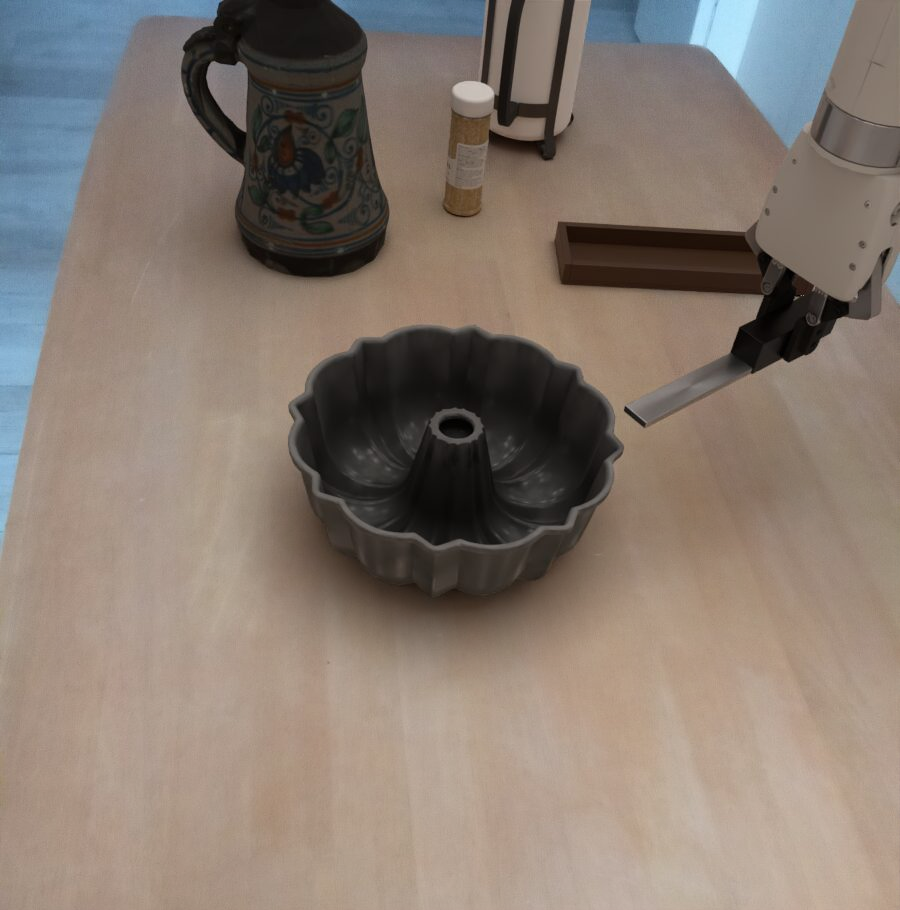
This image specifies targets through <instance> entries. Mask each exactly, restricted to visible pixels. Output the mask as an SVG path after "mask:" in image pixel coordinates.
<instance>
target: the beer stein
mask: <svg viewBox="0 0 900 910" xmlns="http://www.w3.org/2000/svg"><path fill="white" fill-rule="evenodd" d="M368 49H369V48H368V39H367V34H366V33H365V31H364V30H363V28H362V26H361V25H360V23H358V22H357V20H356V19H355V18H354V17H352V16H351V15H350V14H349V13H347V12H346V11H345V10H343V9H342V8H341V7H339V6H338V5H337V4H335V2H333V1H332V0H221V1H220V2H218V5H217V9H216V17H215V18H214V20H213V22H212V25H208V26H203V27H202V28H200V29H198V30H196V31H194V33H192V34H191V35H190V37H189V38H188V39H187V40H185V42H184V44H183V46H182V51H183V53H184V54H183V56H182V60H181V65H180V79H181V84H182V90H183V93H184V96H185V99H186V102H187V104H188V105H189V108H190V110H191V112H192V113H193V115H194V118H196V120H197V121H198V123H199V124H200V125H201V127H202V128H203V129H204V130H205V132H206V133H207V134H208V136H210V137H211V139H212V140H213V141H214V142H215V143H216V144H217V145H218V146H219V147H220V148H221V149H222V150H223V151H224V152H225V153H226V154H227V155H229V157H230V158H232V159H234V160H235V161H236V162H238V163H239V164H241V165H242V167H243V168H244V169H243V177H242V180H241V184H240V189H239V191H238V193H237V196H236V199H235V204H234V218H235V221H236V225H237V228H238V230H239V233H240V235H241V240H242V242H243V244H244V246H245V248H246V250H247V252H248V254H249V255H250V256H251V257H252V258H254V259H255V260H256V261H258V262H259V263H261V264H262V265H264V266H265V267H266V268H267V269H271V270H273V271H277V272H280V273H282V274H286V275H291V276H297V277H303V278H304V277H306V278H307V277H309V278H311V277H314V278H315V277H335V276H339V275H344V274H348V273H352V272H353V273H354V272H355V271H356V270H358V269H361V268H362V267H363V266H365V265H367V264H369V263H371V262H373V261H374V260H375V258H376V257H377V256H378V255H379V252H380V251H381V250H382V248H383V246H384V245H385V241H386V233H387V228H388V224H389V220H390V205H389V200H388V198H387V195H386V192H385V191H384V189H383V186H382V184H381V181H380V178H379V173H378V169H377V165H376V159H375V155H374V151H373V143H372V137H371V132H370V124H369V117H368V108H367V107H368V106H367V101H366V95H365V88H364V81H363V68H364V66H365V63H366V60H367V54H368ZM213 62H215V63H217V64H219V65H227V66H233V67H236V66H237V64H238V63H241V64H243V65H244V66H245V68H246V71H247V91H246V107H245V108H246V109H245V127H246V128H245V130H246V131H244V130H242V129H241V128H239V127H238V126H237V125H236V124H235V122H234V121H232V119H231V118H229V116H227V115H226V114H225V112H224V111H223V110H222V108H221V107H220V105H219V103H218V102H217V101H216V99H215V97H214V96H213V94H212V92H211V90H210V88H209V82H208V79H207V76H208V71H209V67H210V65H211V64H212V63H213Z"/></svg>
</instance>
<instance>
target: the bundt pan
mask: <svg viewBox="0 0 900 910" xmlns="http://www.w3.org/2000/svg"><path fill="white" fill-rule="evenodd" d="M287 405H288V413H289V415H290V417H291V419H292V420H293V423H292V425H291V427H290V430H289V433H288V436H287V446H288V452H289V456H290V458H291V461H292V463H293V464H294V466H295V468H297V471H299V472H300V474H301V477H302V482H303V485H304V488H305V491H306V495H307V499H308V503H309V505H310V507H311V509H312V511H313V513H314V515H315V516H316V518H318V520H319V521H320V522H321V523H322V524H323V525H324V526H325V529H326V533H327V536H328V541H329V543H330V545H331V547H332V548H333V549H334V551H335V552H337V553H339V554H340V555H342V556H345V557H350V558H357V559H358V561H359V562H360V564H361V566H362V567H363V568H364V569H365V571H367V572H368V573H369V574H370V575H371V576H373V577H374V578H376V579H377V580H379V581H382V582H384V583H388V584H389V585H390V584H391V585H395V586H396V585H399V586H403V585H411V584H414V583H415V584H416V585H417V587H419V588H420V589H421V590H422V591H423V592H424V593H425V594H427V595H428V597H429V598H431V599H436V598H438V597H440V596H442V595H444V594H446V593H447V592H450V591H452V590H454V589H456V590H458V591H460V592H461V593H465V594H467V595H471V596H478V597H479V596H480V597H481V596H490V595H493V594H496V593H499V592H501V591H503V590H505V589H506V588H508V587H510V586H511V585H513V583H514V582H515V581H516V580H521V581H522V580H523V581H527V582H529V581H531V582H533V581H538V580H540V579H541V578H543V577H545V575H546V574H547V573H548V572H549V570H550V568H551V566H552V563H553V562H554V560H555V559H557V558H559V557H562V556H563V555H565V554H566V553H568V552H569V551H571V550H573V548H574V547H575V546H576V544H577V543H579V541H580V540H581V538H582V537H583V534H584V533H585V531H586V529H587V527H588V525H589V523H590V522H591V519H592V517H593V515H594V513H595V511H596V510H597V508H598V506H600V505H601V504H602V503H603V502H604V501H605V500H606V499H607V497H609V494H610V492H611V491H612V488H613V484H614V482H615V468H614V463H616V461H618V460H619V459H620V458H621V457H622V456H623V453H624V450H625V445H624V443H623V442H622V441H621V440H620V439H619V437H618V436H616V434H615V425H616V413H615V410H614V407H613V405H612V404H611V402H610V400H609V399H608V398H607V397H606V396H605V395H604V394H603V393H602V392H601V391H600V390H599V389H597V388H596V387H594V386H593V385H592V384H590V383H588V382H586V381H585V380H584V374H583V370H582V368H581V367H580V366H579V365H576V364H573V363H569V362H566V361H561V360H559V359H557V358H556V357H555V356H554V354H553V353H552V352H550V351H549V350H548V349H547V348H545V347H544V346H542V345H541V344H539V343H538V342H535V341H532V340H530V339H528V338H525V337H522V336H517V335H512V334H502V333H501V334H500V333H499V334H498V333H491V332H489V331H487V330H486V329H483V328H482V327H480V326H478V325H476V324H468V325H463V326H461V327H456V328H452V327H448V326H442V325H434V324H415V325H413V324H412V325H406V326H403V327H399V328H396V329H394V330H392V331H389V332H388V333H386V334H384V335H383V336H361V337H358V338H356V339H355V340H354V342H352V343H351V346H350V348H349V349H348V350H346V351H342V352H338V353H334V354H333V355H331V356H328V357H326V358H324V359H323V360H321V361H320V362H318V364H316V365H315V366H314V367H313V368H312V370H311V371H310V372H309V374H308V375H307V377H306V380H305V384H304V392H302V393H301V394H299V395H298V396H296V397H295V398H293V399H292V400H290V401H289V403H288V404H287Z"/></svg>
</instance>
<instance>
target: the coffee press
mask: <svg viewBox="0 0 900 910" xmlns="http://www.w3.org/2000/svg"><path fill="white" fill-rule="evenodd" d="M591 4H592V0H485V6H484V14H483V15H484V16H483V28H482V37H481V46H480V47H481V48H480V58H479V67H478V79H477V82H481V83H484V84H486V85H488V86H489V87H491V88H492V89H493V91H494V106H493V111H492V114H491V116H490V126H489V133H490V132H494V133H495V134H497V135H500V136H502V137H505V138H509V139H512V140H517V141H528V142H529V141H530V142H533V141H534V142H535V143H536V144H537V146H538V150H539V154H540V157H541V158H542V159H543V160H546V159H551V158H556V156H557V147H556V142H555V137H556V136H558V135H559V134H561V133H562V132H563V131H564V130H565V129H566V128H567V127H568V126H570V125H571V124H572V123H573V122H574V120H575V119H574V118H575V116H574V114H573V109H574V108H573V107H574V103H575V96H576V91H577V85H578V79H579V74H580V68H581V62H582V56H583V51H584V45H585V39H586V33H587V28H588V21H589V17H590V9H591Z"/></svg>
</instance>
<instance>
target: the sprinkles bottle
mask: <svg viewBox="0 0 900 910" xmlns="http://www.w3.org/2000/svg"><path fill="white" fill-rule="evenodd" d="M493 106H494V91H493V89H492V88H491V87H489V86H488V85H486V84H484V83H481V82H478V81H477V80H476V81H475V80H464V81H459V82H458V83H456V84H455V85H453V87H452V88H451V95H450V110H451V115H450V116H451V117H450V128H449V138H448V144H447V145H448V146H447V158H446V167H445V168H446V169H445V186H444V187H445V188H444V189H445V190H444V197H443V200H442V205H443V207H444V209H445V210H446V211H448V212H449V213H451V214H453V215H456V216H463V217H464V216H465V217H467V216H468V217H469V216H473V215H475V214H477V213H479V212H480V211H481V210H482V206H483V204H482V197H483V187H484V183H485V177H486V166H487V158H488V149H489V140H490V138H489V137H490V136H489V133H490V132H489V126H490V116H491V114H492V111H493Z"/></svg>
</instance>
